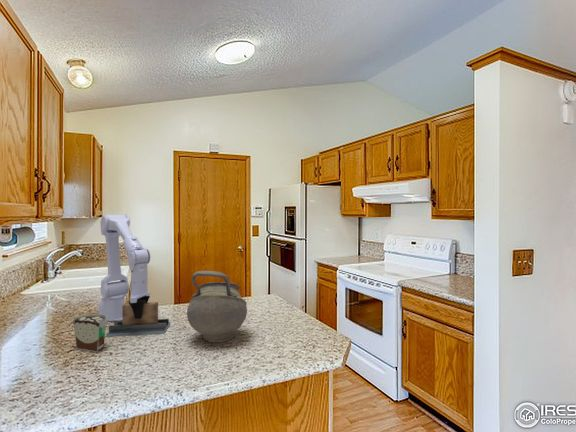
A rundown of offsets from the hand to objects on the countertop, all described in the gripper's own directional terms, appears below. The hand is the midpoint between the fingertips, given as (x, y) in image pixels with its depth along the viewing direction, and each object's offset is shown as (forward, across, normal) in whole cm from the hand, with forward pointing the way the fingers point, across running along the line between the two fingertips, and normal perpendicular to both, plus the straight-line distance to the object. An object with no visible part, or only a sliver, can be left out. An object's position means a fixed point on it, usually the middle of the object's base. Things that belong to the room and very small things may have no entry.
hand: (139, 317), depth 124 cm
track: (+5, 0, 0) cm, 5 cm away
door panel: (+3, 0, 0) cm, 3 cm away
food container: (+5, -14, +10) cm, 18 cm away
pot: (+5, -13, -30) cm, 33 cm away
